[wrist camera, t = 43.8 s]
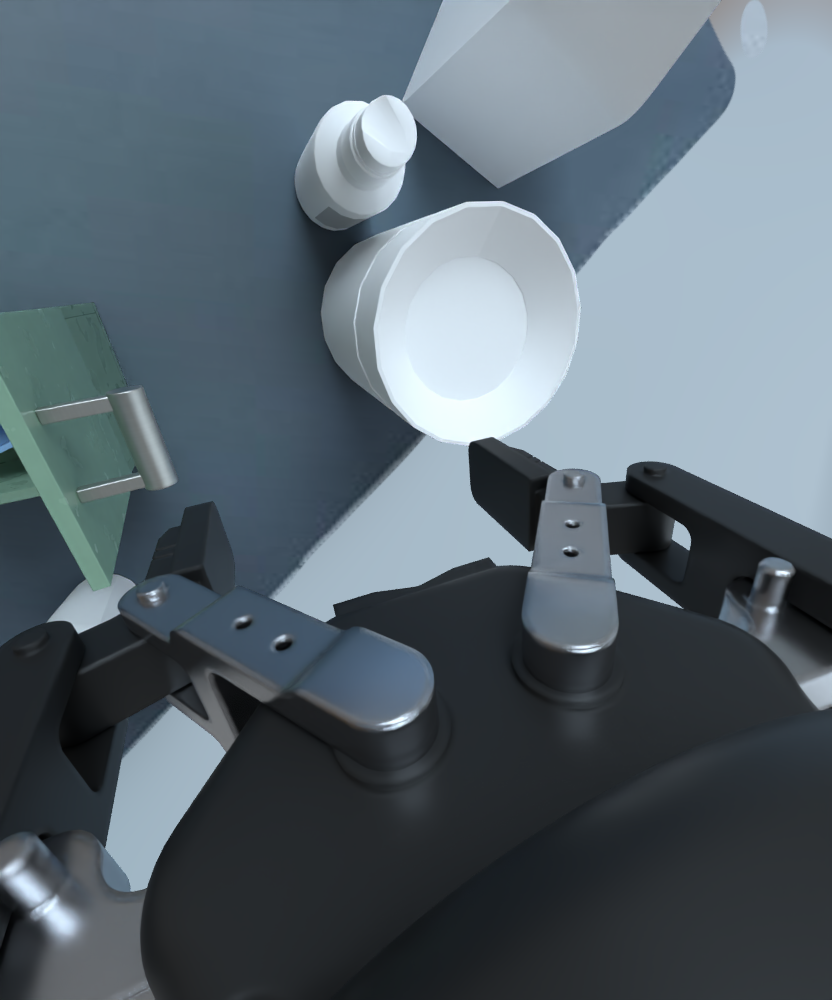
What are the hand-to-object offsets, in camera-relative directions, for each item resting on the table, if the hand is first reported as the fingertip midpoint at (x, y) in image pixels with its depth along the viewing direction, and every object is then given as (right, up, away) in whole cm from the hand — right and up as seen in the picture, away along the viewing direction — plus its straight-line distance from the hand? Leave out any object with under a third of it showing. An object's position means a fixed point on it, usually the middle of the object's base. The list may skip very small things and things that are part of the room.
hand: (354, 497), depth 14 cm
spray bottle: (-6, +29, +28) cm, 41 cm away
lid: (-18, +4, +12) cm, 22 cm away
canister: (0, +19, +35) cm, 40 cm away
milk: (+8, +39, +29) cm, 49 cm away
